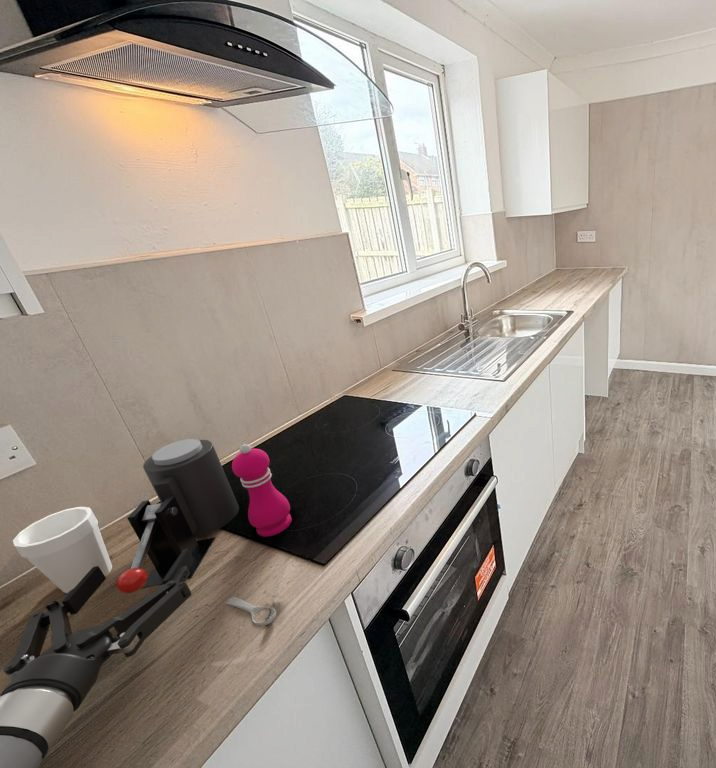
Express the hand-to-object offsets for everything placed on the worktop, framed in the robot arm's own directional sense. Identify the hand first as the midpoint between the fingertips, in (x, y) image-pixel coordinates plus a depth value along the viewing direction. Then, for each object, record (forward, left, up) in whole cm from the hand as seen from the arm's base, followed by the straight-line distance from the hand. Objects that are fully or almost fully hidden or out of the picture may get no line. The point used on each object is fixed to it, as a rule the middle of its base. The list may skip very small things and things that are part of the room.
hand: (145, 563), depth 67 cm
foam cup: (-17, +2, -8) cm, 18 cm away
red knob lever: (-1, +2, +1) cm, 2 cm away
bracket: (-2, +6, -7) cm, 10 cm away
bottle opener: (+18, -2, -8) cm, 19 cm away
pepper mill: (+10, +16, -8) cm, 20 cm away
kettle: (-6, +17, -7) cm, 20 cm away
